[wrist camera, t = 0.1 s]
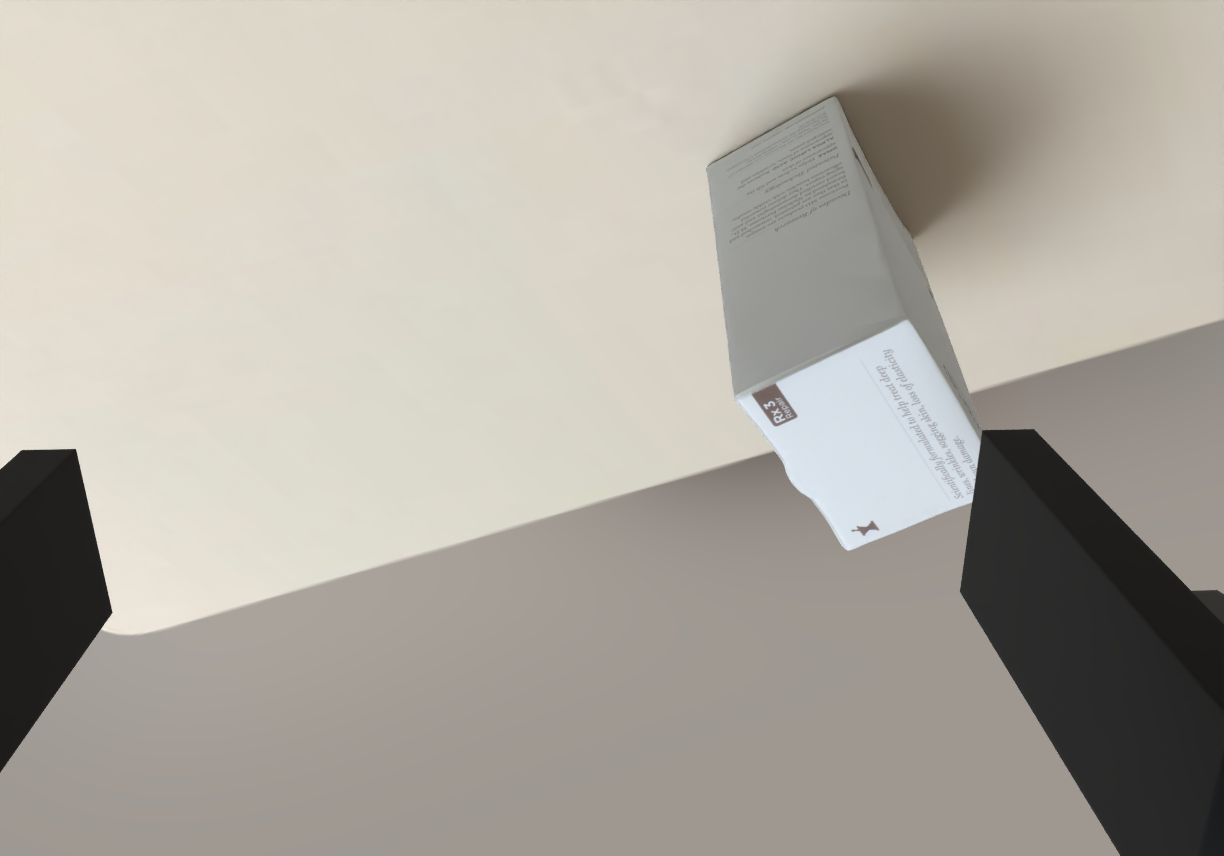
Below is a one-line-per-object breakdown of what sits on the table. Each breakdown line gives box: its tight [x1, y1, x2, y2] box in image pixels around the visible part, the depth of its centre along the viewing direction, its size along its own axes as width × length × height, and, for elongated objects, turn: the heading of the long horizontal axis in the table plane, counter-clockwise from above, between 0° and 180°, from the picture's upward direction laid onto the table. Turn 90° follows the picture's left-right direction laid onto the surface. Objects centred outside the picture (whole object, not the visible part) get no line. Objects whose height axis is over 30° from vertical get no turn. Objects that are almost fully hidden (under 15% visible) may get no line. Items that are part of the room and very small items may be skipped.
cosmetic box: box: [706, 96, 982, 551], centre depth 39 cm, size 8×6×15 cm
